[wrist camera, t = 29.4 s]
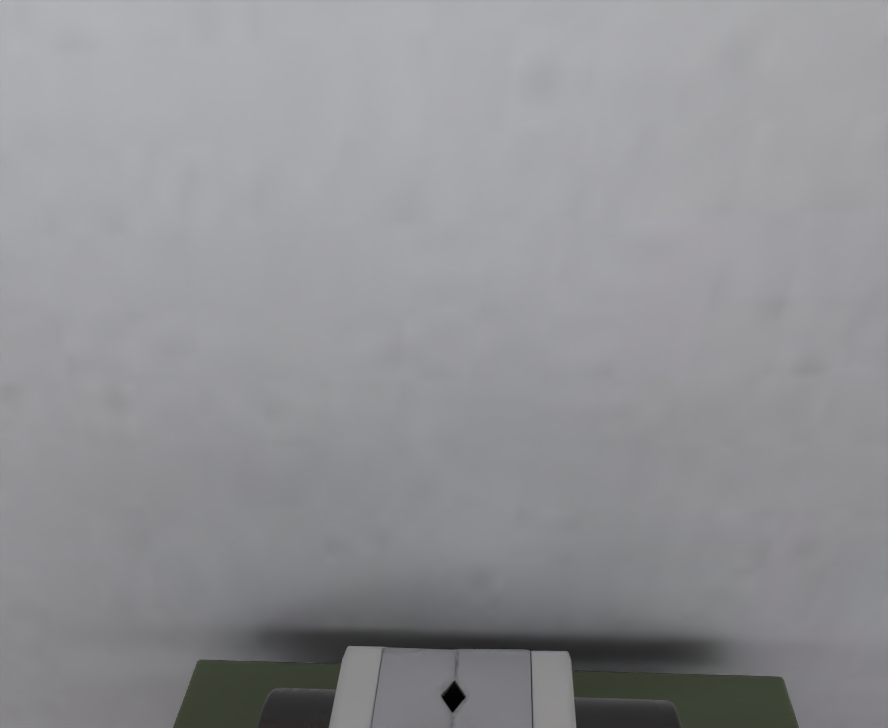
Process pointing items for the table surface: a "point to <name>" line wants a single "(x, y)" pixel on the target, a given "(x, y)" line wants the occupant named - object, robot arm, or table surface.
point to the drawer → (595, 693)
